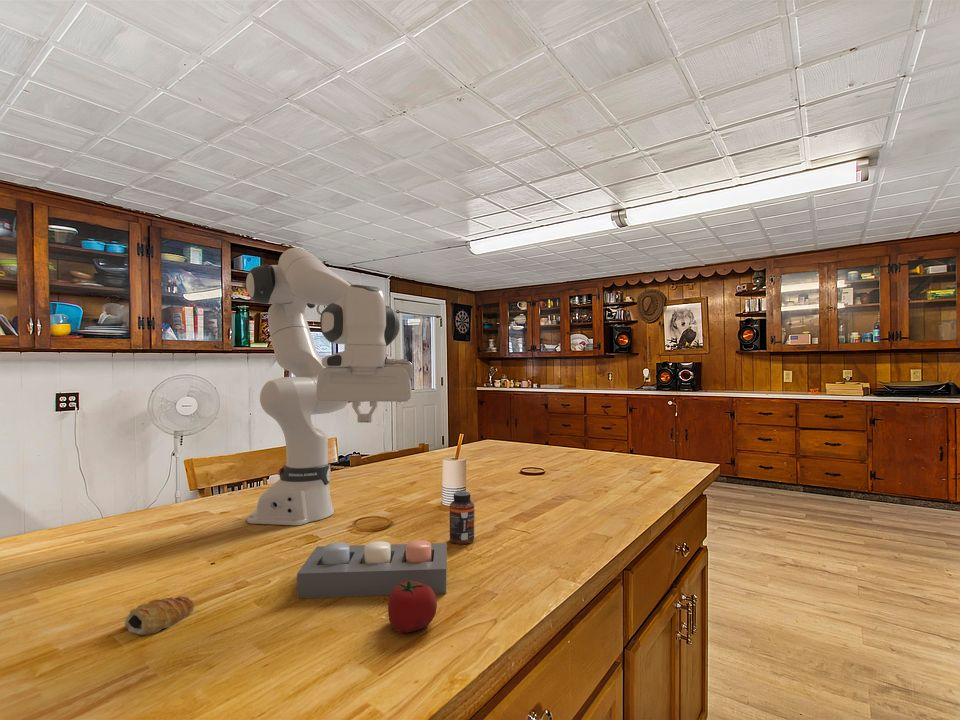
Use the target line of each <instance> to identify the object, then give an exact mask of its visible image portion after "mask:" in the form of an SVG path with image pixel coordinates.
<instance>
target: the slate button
mask: <svg viewBox="0 0 960 720" xmlns="http://www.w3.org/2000/svg"><path fill="white" fill-rule="evenodd" d="M349 546H350V544H349V543H347V542H332V543H329V544H327V545H324V547H323V565H335V564H349V562H350V556H349Z"/></svg>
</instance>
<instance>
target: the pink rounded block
mask: <svg viewBox="0 0 960 720" xmlns="http://www.w3.org/2000/svg"><path fill="white" fill-rule="evenodd" d="M405 544H406V562H431V542H430V541H427V540H424V539H423V540H421V539H420V540H419V539H417V540H412V541H410V542H407V543H405Z"/></svg>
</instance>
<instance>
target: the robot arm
mask: <svg viewBox="0 0 960 720" xmlns="http://www.w3.org/2000/svg"><path fill="white" fill-rule="evenodd" d="M245 287H246V290H247V293H248V296H249V298H250V299H251V300H252V301H253V302H255V303H259V304H264V305H266V304H267V305H268V304H271V305H270V306H269V308H268V311H267V322H268V331H269V336H270V340H271V344H272V348H273V353H274V356H275V359H276V363H277V364H278V365H279V366H280V367H281V368H282V369H284V370H285V371H288V372H290V373H291V374H292V375H293V376H284V377H279V378H274V379H271V380H268V381H267V382H266V383H265V384H264V385H263V386H262V388H261V391H260V394H259V402H260V406H261V408H262V410H263V411H264V412H265V414H267V415H268V416H269V417H271V418H272V419H274V421H276V423H277V424H278V425H279V427H280V429H281V430H282V433H283V435H284V442H285V450H286V452H285V453H286V463H285V464H283V465H282V466H281V468H279V470H278V471H277V472H278V473H277V476H279V479H278V480H277V481H276V482H274V484H272V485H271V486H270V487H269V488H267V489H266V490H265V491H263V492H262V493H261V494H260V496H259V498H258V500H257V504H256V509H255V510H254V511H252V512H251V513H249V515H248V516H247V519H246V521H247V523H248V524H255V525H258V524H259V525H261V524H262V525H280V526H281V525H282V526H301V525H304V524H308V523H311V522H315V521H319V520H323V519H327V518H328V517H331V516H332V515H333V514H334V513H335V509H334V506H333V502H332V497H331V493H330V492H331V491H330V481H331V466H330V465H331V464H330V462H329V439H328V435H327V434H326V433H325V431H323V430H322V429H319V428H318V427H315V426H314V424H313V423H312V418H311V416H312V415H323V414H325V415H326V414H330V413H334V412H337V411H340V410H343V409H344V408H346V406H347V405H348V403H349V402H352V404H351V406H352V409H353V410H354V412H355V414H356V415H357V423H361V424H363V423H367V424H368V423H373V414H374V412H375V411H376V409H377V408H378V403H379V402H382V403H383V402H384V403H387V402H397V403H398V402H399V403H401V402H409V401H410V400H411V399H412V397H413V393H412V391H413V389H412V380H411V379H413V376H414V366H413V364H412V363H411V362H410V361H408V360H407V359H404V358H401V359H397V358H396V359H395V358H387V347H388V346H389V345H390V344H392V343H393V341H394V340H395V339H396V338H397V336H398V335H399V332H400V321H399V318H398V315H397V313H396V312H395V311H394V309H393V308H392V307H391V306H389V305H386V301H385V300H386V299H385V295H384V292H383V290H382V289H380V288H379V287H377V286H370V285H363V284H353V283H351V282H350V281H347V280H346V279H345V278H344V277H341V276H340V275H338V274H337V273H335V272H334V271H333V270H332V269H330V268H329V267H327V266H326V265H325V264H324V263H323V262H322V261H321V260H320V258H318V257H316V255H314V254H313V253H311V252H309V251H307V250H305V249H304V248H300V247H291V248H289V249H286V250H285V251H283V252H282V254H281V255H280V256H279V259H278V263H277V264H268V263H266V264H262V265H258V266H254V267H252V268H251V269H250V270H249V271H248V272H247V275H246V280H245ZM316 305H317V306H325V307H324V308H323V310H322V311H321V313H320V318H319V319H320V320H319V321H320V323H319V324H320V325H319V326H320V332H321V334H322V336H323V338H325V339H326V340H327V341H328V342H329V343H332V344H337V345H344V349H343V351H339V352H335V353H334V354H330V355H326V356H324V357H322V358H321V357H320V355H319V353H318V351H317V348H316V346H315V343H314V339H313V337H312V332H311V330H310V327H309V323H308V320H307V318H306V314H305V312H306V307H308V309H313V308H315V307H316ZM362 402H368V403H369V407H370V411H368V413H363V412H362V411H361V409H360V406H361V403H362Z"/></svg>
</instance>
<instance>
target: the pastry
mask: <svg viewBox="0 0 960 720" xmlns="http://www.w3.org/2000/svg"><path fill="white" fill-rule="evenodd" d="M194 608H195V607H194V601H193V600H192V599H190V598H189V597H188V596H182V595H180V596H177V597H166V598H165V597H164V598H161V599H151V600H150V601H148V603H144V604H140V605H138V606H137V607H136V608H134V609H131V610H130V611H129V614H128V615H127V616H126V619H125V621H124V625H125V627H126V629H127V631H128V632H129V633H132V634H137V635H141V636H146V635H147V636H148V635H153V634H156V633H159V632H160V631H161V630H163V629H165V628H166V629H168V628H170V627H172V626H175V624H177V623H179V622H180V621H181V620H183V619H185V618H186V617H188V616H190V614H191V612H193V610H194Z"/></svg>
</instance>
